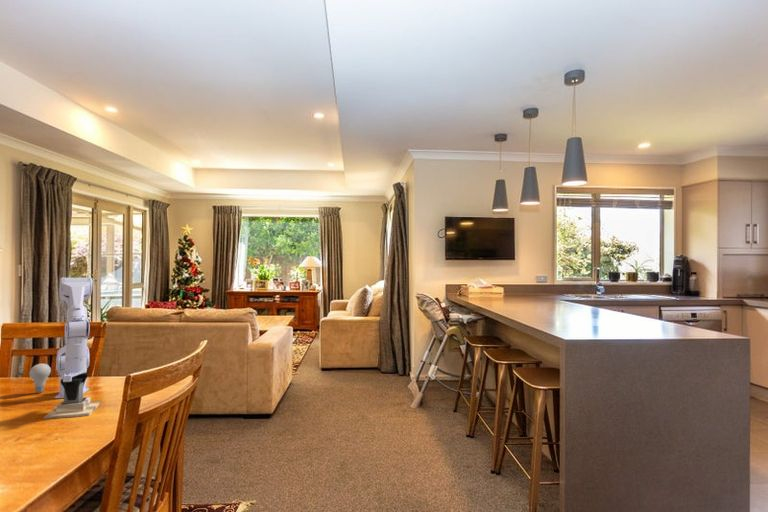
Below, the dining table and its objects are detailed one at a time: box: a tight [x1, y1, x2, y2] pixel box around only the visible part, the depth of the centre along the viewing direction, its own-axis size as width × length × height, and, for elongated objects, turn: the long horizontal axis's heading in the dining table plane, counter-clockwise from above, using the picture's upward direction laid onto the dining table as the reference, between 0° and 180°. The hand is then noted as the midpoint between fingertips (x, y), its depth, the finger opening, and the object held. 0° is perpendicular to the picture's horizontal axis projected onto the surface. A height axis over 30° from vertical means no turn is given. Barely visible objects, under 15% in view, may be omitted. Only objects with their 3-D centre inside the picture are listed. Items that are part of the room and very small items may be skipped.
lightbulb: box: [29, 363, 52, 394], centre depth 151 cm, size 6×6×11 cm
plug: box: [63, 382, 84, 404], centre depth 133 cm, size 4×4×6 cm
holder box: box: [43, 396, 102, 421], centre depth 133 cm, size 12×12×3 cm
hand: (74, 397), depth 133 cm, fingers closed on plug, 4 cm apart
